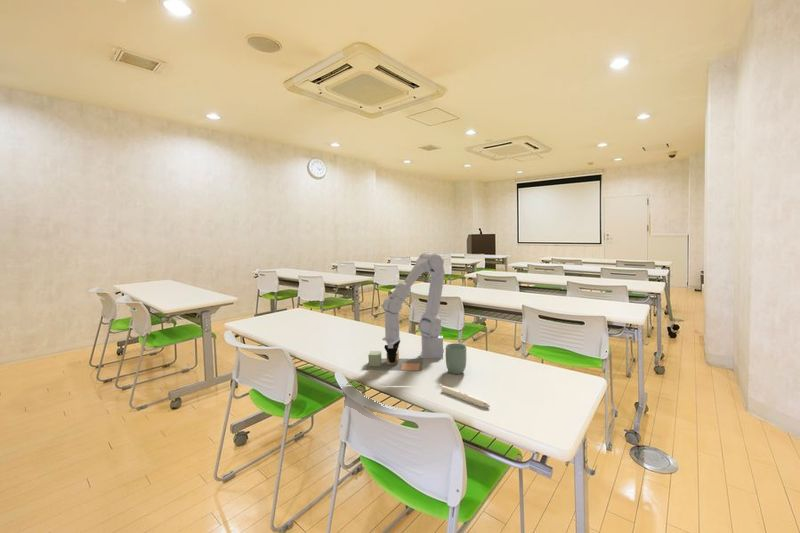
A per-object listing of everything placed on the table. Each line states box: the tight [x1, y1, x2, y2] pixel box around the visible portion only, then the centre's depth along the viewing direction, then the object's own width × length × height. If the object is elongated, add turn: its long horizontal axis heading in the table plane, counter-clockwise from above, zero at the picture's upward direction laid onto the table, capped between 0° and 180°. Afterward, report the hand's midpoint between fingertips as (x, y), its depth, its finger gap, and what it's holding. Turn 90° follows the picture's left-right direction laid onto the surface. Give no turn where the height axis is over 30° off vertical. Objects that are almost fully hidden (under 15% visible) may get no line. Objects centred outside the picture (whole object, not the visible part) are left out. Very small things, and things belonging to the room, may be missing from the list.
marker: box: [440, 385, 491, 409], centre depth 113 cm, size 18×2×2 cm, turn 44°
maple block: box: [386, 349, 400, 364], centre depth 146 cm, size 4×4×4 cm
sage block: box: [367, 350, 382, 366], centre depth 144 cm, size 4×4×4 cm
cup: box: [445, 342, 467, 375], centre depth 135 cm, size 8×8×10 cm
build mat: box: [364, 357, 424, 372], centre depth 144 cm, size 22×13×1 cm, turn 85°
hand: (392, 360), depth 146 cm, fingers closed on maple block, 4 cm apart
